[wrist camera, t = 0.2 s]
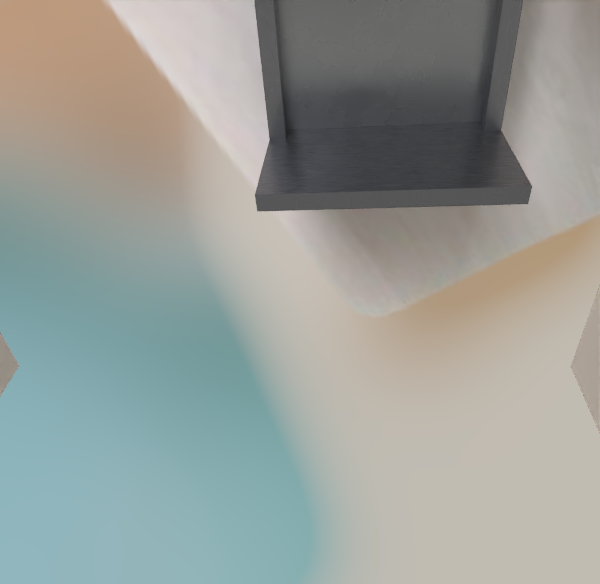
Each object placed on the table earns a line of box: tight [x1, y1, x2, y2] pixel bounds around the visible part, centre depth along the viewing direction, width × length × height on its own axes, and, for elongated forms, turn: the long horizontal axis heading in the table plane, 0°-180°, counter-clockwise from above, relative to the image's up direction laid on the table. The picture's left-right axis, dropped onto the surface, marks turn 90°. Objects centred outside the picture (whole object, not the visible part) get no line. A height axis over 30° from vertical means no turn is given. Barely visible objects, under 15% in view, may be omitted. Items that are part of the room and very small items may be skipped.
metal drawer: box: [255, 0, 532, 211], centre depth 27 cm, size 17×14×11 cm
